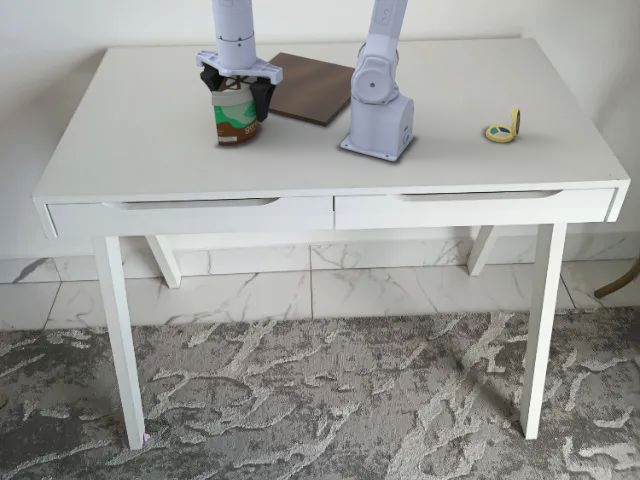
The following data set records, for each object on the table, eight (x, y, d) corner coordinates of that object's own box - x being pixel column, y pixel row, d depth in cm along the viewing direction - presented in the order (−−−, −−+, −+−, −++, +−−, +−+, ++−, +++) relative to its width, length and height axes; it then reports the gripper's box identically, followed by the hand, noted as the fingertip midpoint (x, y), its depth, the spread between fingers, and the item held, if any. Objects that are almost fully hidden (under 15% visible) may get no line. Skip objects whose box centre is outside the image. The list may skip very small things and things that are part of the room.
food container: (253, 155, 103) (250, 98, 97) (215, 150, 104) (210, 93, 97) (272, 115, 112) (271, 61, 106) (238, 111, 113) (235, 57, 107)
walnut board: (373, 76, 123) (373, 72, 122) (325, 126, 109) (325, 122, 109) (280, 55, 130) (280, 51, 129) (224, 100, 116) (224, 96, 116)
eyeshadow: (488, 125, 109) (493, 99, 106) (519, 131, 107) (525, 104, 104) (483, 139, 106) (488, 112, 103) (514, 145, 104) (520, 118, 101)
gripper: (178, 34, 97) (191, 115, 106) (263, 53, 92) (269, 136, 101) (206, 17, 102) (216, 96, 111) (287, 34, 97) (291, 115, 106)
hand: (243, 114), depth 106 cm, fingers closed on food container, 7 cm apart
